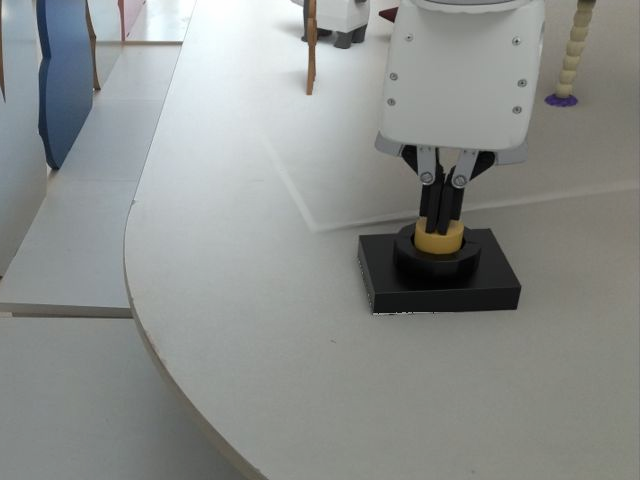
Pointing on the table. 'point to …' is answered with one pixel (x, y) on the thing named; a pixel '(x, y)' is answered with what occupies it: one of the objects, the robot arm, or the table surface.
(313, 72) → the gingerbread man figurine
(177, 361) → the table surface
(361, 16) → the giant panda
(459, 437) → the table surface
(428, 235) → the bell button
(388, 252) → the block
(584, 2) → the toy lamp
